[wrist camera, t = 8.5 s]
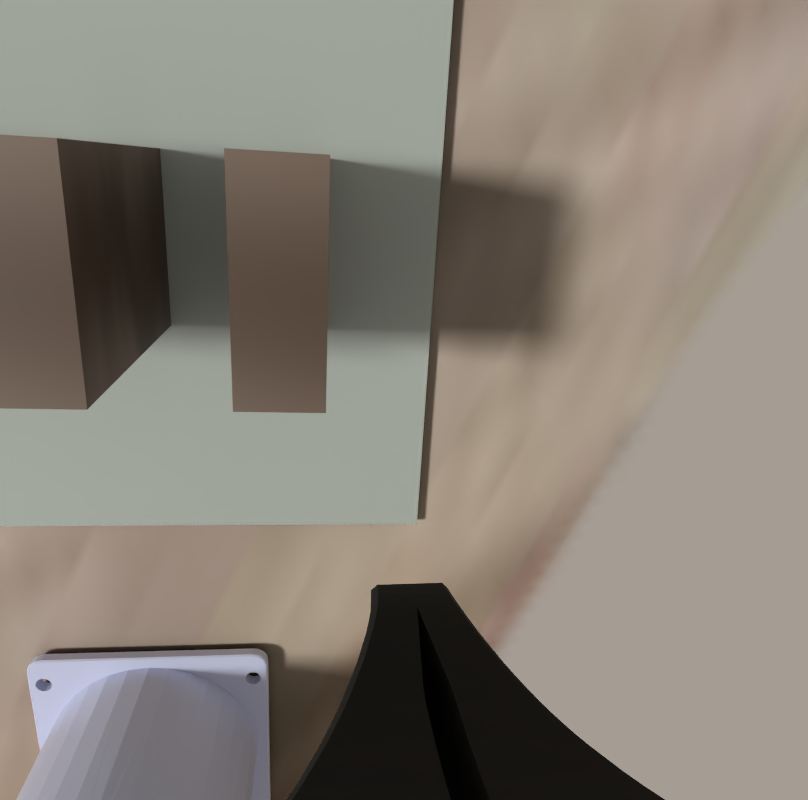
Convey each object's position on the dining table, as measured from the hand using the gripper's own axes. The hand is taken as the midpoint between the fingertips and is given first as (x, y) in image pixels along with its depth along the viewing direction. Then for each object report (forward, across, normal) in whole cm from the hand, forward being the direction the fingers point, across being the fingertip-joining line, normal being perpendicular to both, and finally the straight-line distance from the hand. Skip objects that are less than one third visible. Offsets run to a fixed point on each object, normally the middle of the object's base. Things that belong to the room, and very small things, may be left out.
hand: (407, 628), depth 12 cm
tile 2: (+9, +7, -6) cm, 13 cm away
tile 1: (+9, +2, -6) cm, 11 cm away
